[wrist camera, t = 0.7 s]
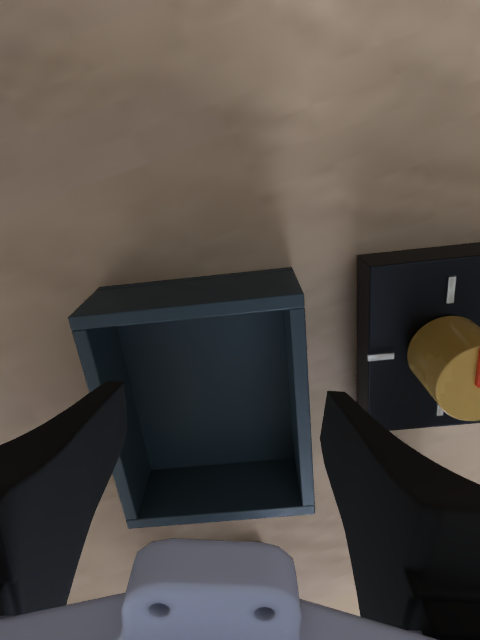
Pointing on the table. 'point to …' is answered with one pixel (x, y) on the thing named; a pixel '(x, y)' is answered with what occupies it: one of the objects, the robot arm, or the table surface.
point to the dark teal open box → (205, 395)
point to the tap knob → (449, 364)
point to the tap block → (408, 326)
